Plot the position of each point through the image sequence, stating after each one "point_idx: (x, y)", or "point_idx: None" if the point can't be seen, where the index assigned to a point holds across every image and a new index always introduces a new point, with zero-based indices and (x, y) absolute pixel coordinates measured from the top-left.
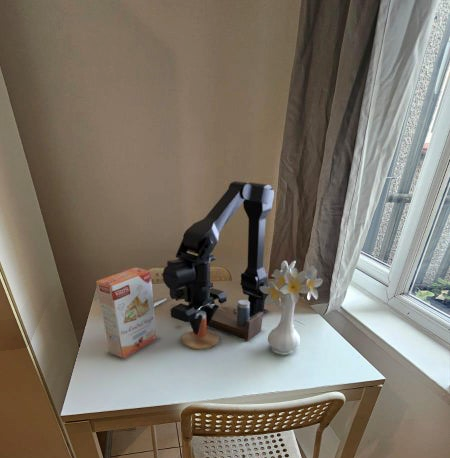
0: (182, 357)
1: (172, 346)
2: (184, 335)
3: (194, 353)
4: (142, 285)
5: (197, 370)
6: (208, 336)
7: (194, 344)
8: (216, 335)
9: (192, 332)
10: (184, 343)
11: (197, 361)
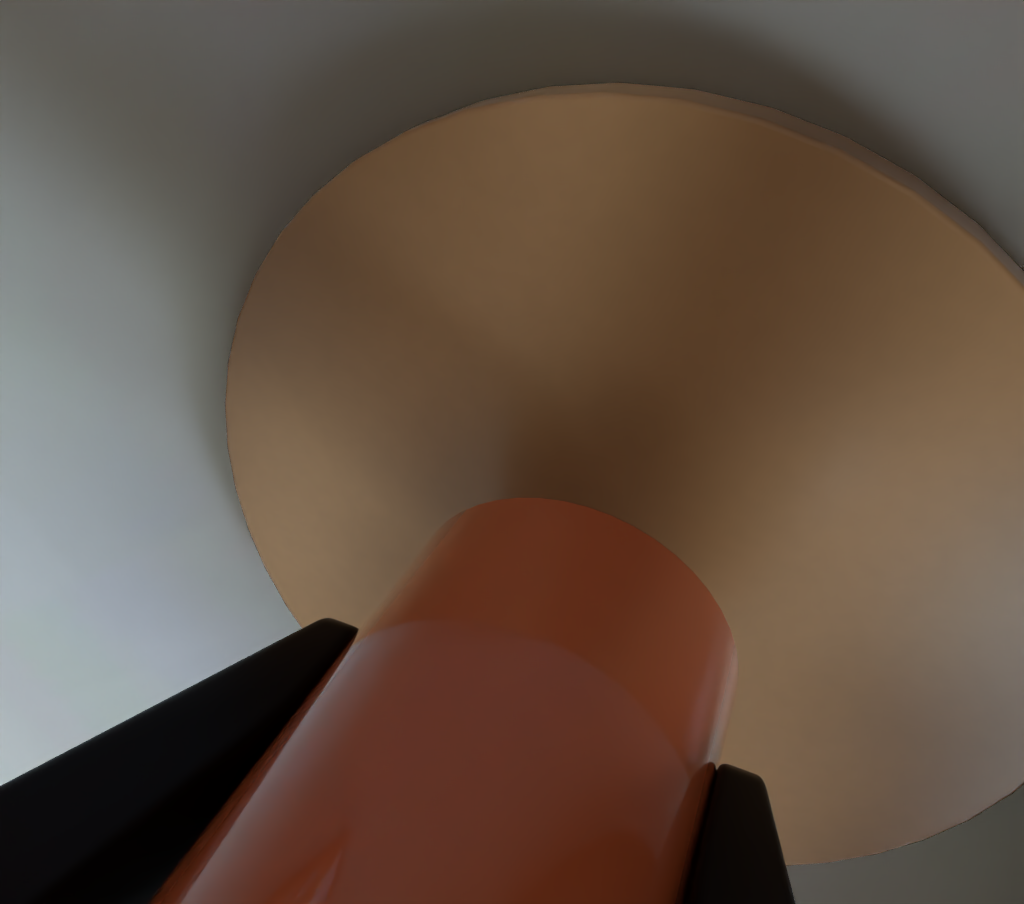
0: (18, 445)
1: (67, 93)
2: (524, 123)
3: (203, 566)
4: None
5: (14, 682)
6: (783, 697)
7: (331, 528)
8: (909, 834)
9: (815, 261)
10: (237, 329)
11: (111, 647)
